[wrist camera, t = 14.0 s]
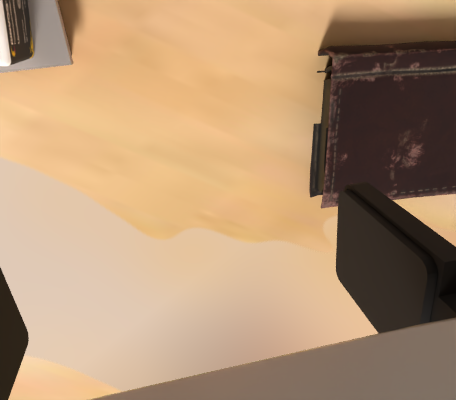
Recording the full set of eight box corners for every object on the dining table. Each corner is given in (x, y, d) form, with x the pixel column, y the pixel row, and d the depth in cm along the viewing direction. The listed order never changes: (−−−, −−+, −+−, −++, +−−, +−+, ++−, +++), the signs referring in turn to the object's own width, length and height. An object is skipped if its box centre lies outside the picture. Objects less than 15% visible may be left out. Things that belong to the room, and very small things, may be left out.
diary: (315, 45, 43) (335, 47, 38) (511, 36, 47) (550, 37, 42) (306, 199, 50) (322, 216, 46) (475, 180, 54) (505, 194, 50)
